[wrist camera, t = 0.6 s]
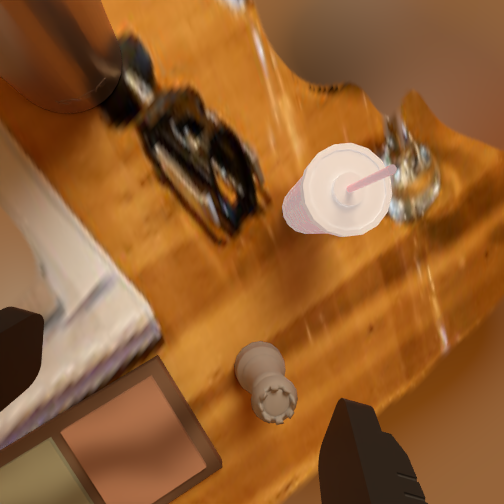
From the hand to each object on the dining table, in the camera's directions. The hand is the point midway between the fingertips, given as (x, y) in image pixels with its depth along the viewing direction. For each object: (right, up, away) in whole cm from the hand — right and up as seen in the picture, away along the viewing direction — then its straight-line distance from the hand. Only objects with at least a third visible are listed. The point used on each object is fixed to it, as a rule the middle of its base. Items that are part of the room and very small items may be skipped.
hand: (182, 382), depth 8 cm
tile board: (-16, -17, +18) cm, 29 cm away
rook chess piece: (+2, -7, +21) cm, 22 cm away
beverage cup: (+7, +7, +22) cm, 24 cm away
